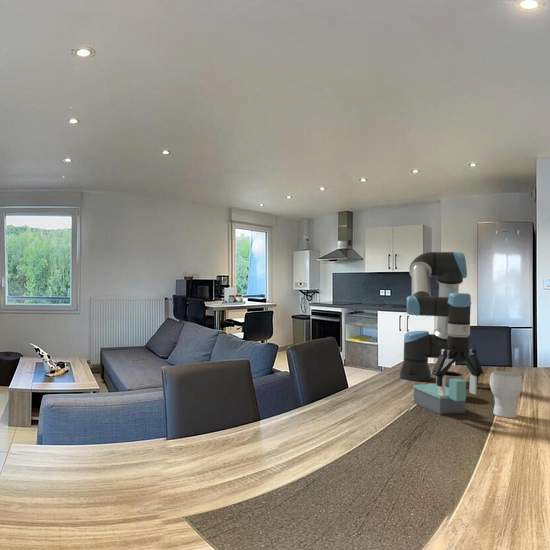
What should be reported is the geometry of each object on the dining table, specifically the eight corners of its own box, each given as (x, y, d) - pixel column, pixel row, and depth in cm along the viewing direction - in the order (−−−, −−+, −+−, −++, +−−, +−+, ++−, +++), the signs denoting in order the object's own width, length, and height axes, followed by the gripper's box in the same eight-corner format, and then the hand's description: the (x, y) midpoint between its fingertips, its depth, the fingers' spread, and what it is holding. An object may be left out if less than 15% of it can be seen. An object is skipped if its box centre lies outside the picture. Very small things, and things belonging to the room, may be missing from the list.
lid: (413, 387, 176) (413, 369, 176) (437, 386, 179) (438, 368, 179) (447, 401, 156) (447, 381, 156) (474, 399, 160) (474, 380, 160)
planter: (458, 393, 193) (458, 371, 193) (466, 400, 182) (467, 376, 182) (432, 392, 194) (433, 370, 194) (439, 398, 183) (440, 375, 183)
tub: (413, 402, 176) (414, 387, 176) (437, 401, 179) (437, 386, 179) (439, 415, 160) (440, 398, 160) (465, 413, 164) (465, 396, 164)
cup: (525, 420, 156) (526, 378, 156) (493, 417, 159) (494, 376, 159) (515, 411, 167) (516, 372, 167) (485, 409, 169) (486, 370, 169)
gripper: (435, 337, 153) (434, 399, 153) (494, 336, 160) (493, 395, 160) (422, 334, 160) (421, 393, 160) (479, 333, 167) (478, 390, 167)
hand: (457, 394), depth 160 cm, fingers open, 13 cm apart
